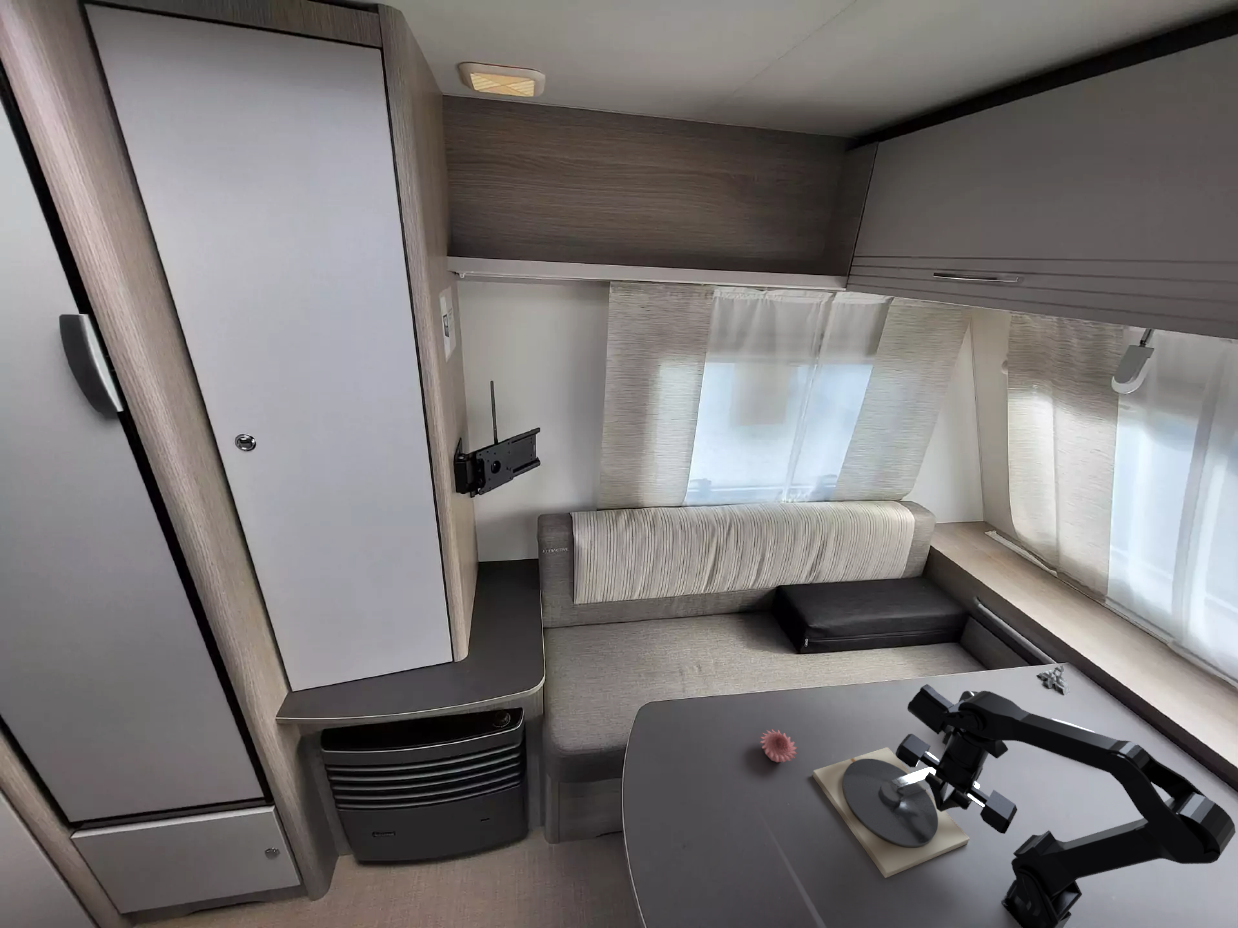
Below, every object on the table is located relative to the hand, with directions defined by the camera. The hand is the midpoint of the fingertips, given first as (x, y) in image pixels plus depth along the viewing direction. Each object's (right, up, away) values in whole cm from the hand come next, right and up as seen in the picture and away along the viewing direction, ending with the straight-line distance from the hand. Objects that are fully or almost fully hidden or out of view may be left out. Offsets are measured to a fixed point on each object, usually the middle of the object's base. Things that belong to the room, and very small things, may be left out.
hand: (939, 808), depth 98 cm
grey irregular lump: (+51, +7, +37) cm, 63 cm away
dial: (-8, -1, +3) cm, 9 cm away
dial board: (-8, -2, +4) cm, 10 cm away
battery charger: (+19, +3, +21) cm, 29 cm away
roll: (+44, +1, +20) cm, 48 cm away
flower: (-28, +2, +13) cm, 31 cm away
